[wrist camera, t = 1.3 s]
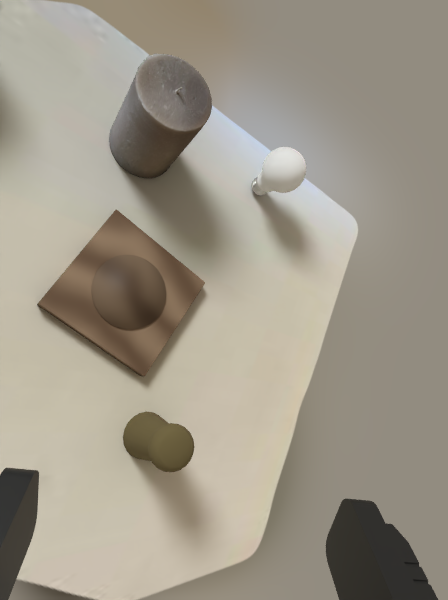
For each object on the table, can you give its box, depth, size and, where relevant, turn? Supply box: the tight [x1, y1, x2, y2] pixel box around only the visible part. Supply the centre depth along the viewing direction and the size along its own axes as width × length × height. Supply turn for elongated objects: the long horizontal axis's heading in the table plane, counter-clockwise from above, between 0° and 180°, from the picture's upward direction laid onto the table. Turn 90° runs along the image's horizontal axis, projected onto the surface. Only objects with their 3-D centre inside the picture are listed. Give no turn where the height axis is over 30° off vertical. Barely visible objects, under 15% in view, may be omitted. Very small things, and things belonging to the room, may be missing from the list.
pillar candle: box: [109, 54, 212, 178], centre depth 54 cm, size 10×10×15 cm
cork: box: [123, 412, 194, 472], centre depth 50 cm, size 6×6×11 cm
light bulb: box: [251, 147, 306, 195], centre depth 65 cm, size 7×7×11 cm
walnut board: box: [37, 210, 205, 376], centre depth 56 cm, size 16×16×2 cm
